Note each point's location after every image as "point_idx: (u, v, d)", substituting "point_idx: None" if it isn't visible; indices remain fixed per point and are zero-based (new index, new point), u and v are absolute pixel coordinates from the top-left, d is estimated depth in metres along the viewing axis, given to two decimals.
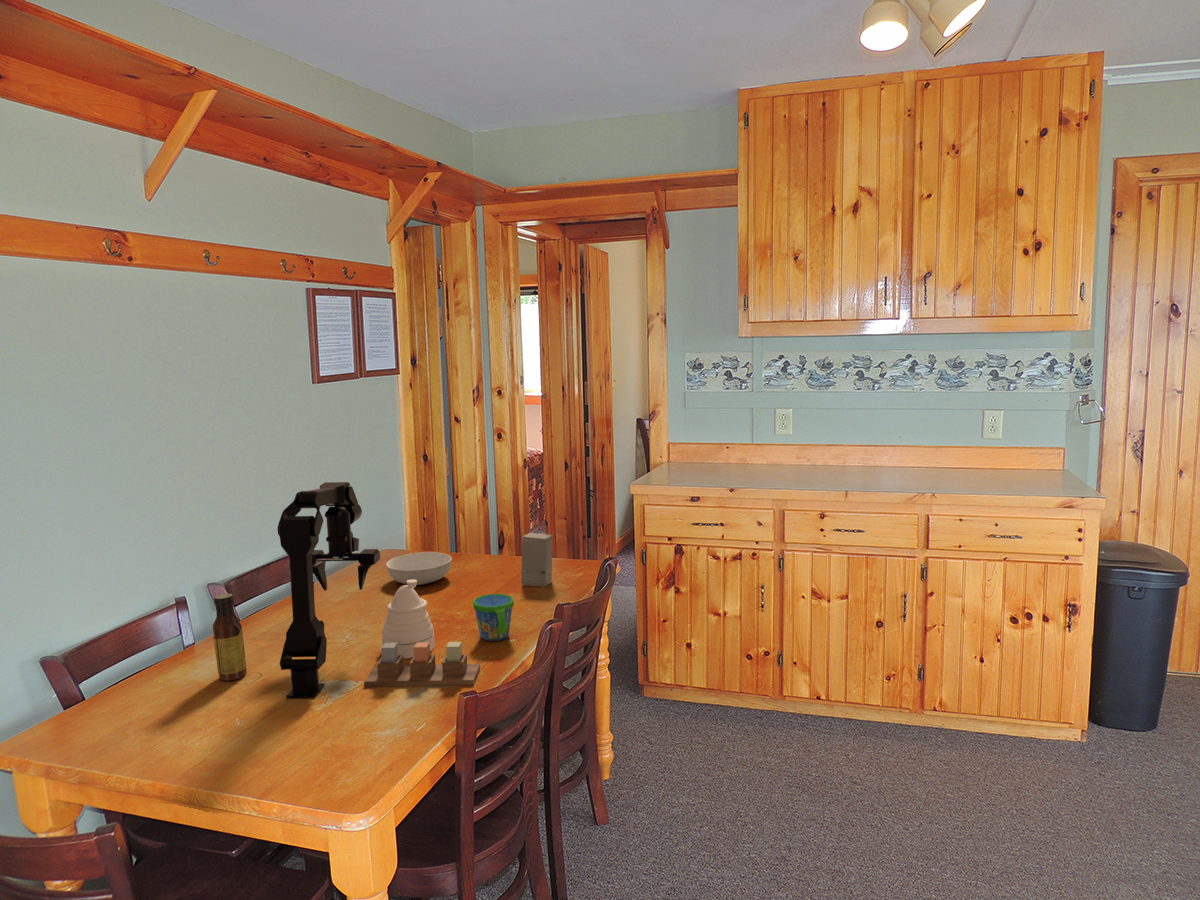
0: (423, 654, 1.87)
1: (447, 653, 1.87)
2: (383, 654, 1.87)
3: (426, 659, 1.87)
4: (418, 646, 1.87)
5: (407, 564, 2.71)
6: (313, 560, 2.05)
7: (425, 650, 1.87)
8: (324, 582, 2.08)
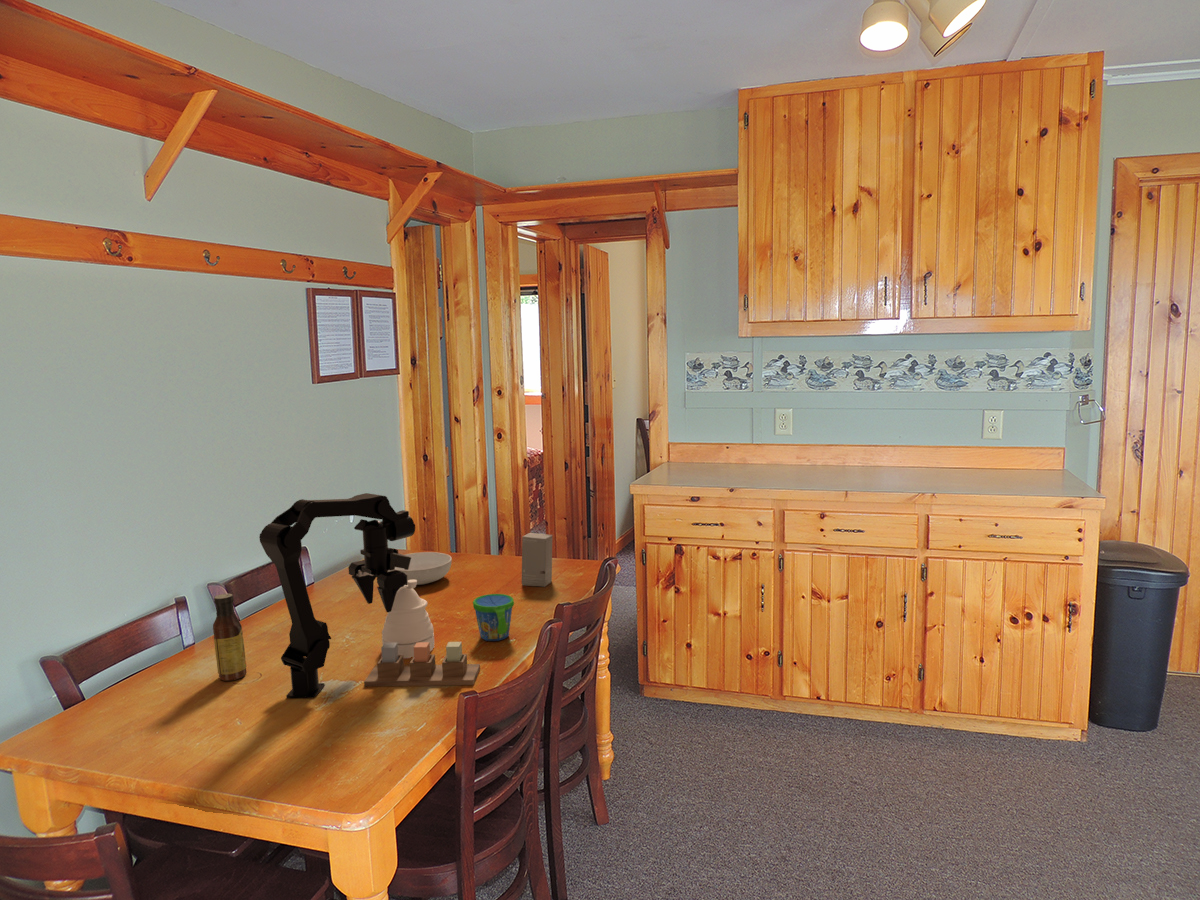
0: (423, 654, 1.87)
1: (447, 653, 1.87)
2: (383, 654, 1.87)
3: (426, 659, 1.87)
4: (418, 646, 1.87)
5: None
6: (353, 570, 1.99)
7: (425, 650, 1.87)
8: (367, 595, 2.01)
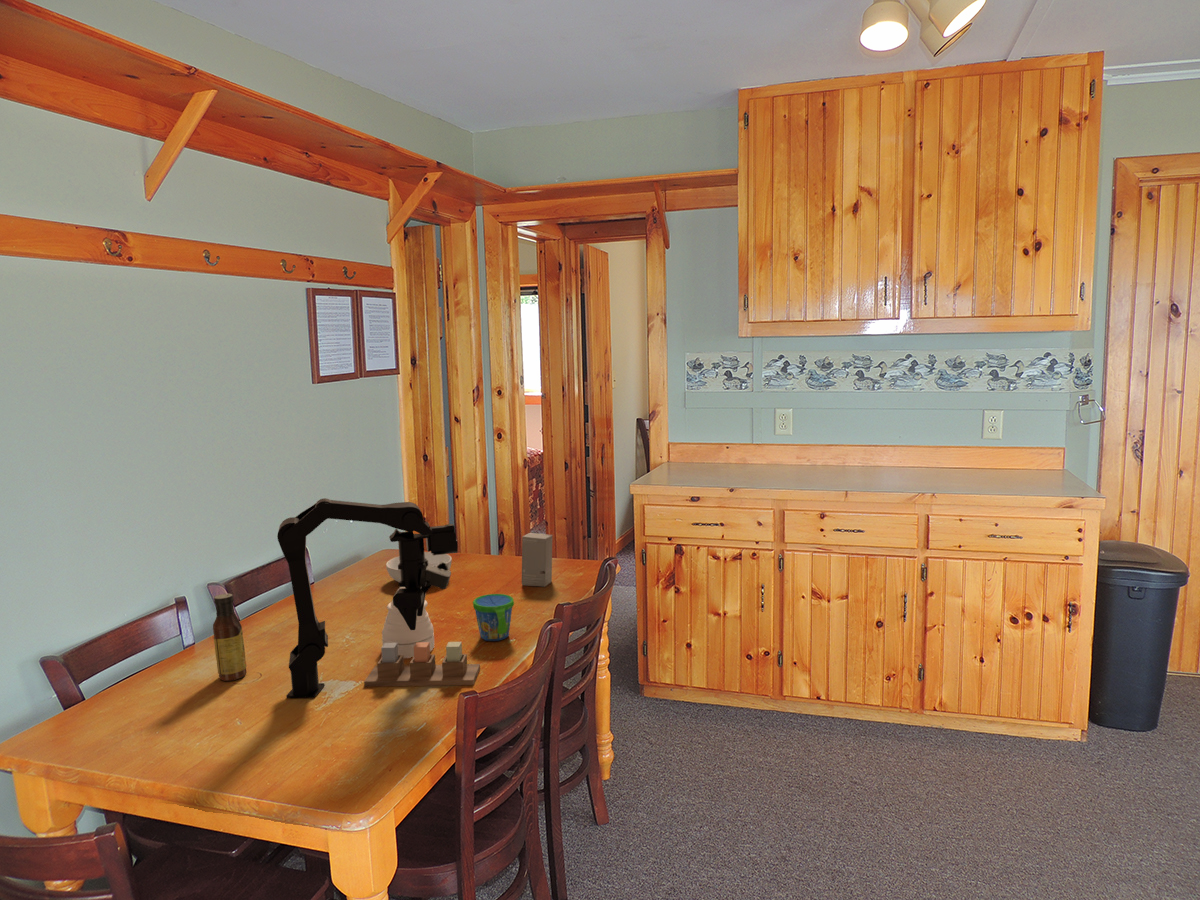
0: (423, 654, 1.87)
1: (447, 653, 1.87)
2: (383, 654, 1.87)
3: (426, 659, 1.87)
4: (418, 646, 1.87)
5: None
6: None
7: (425, 650, 1.87)
8: None
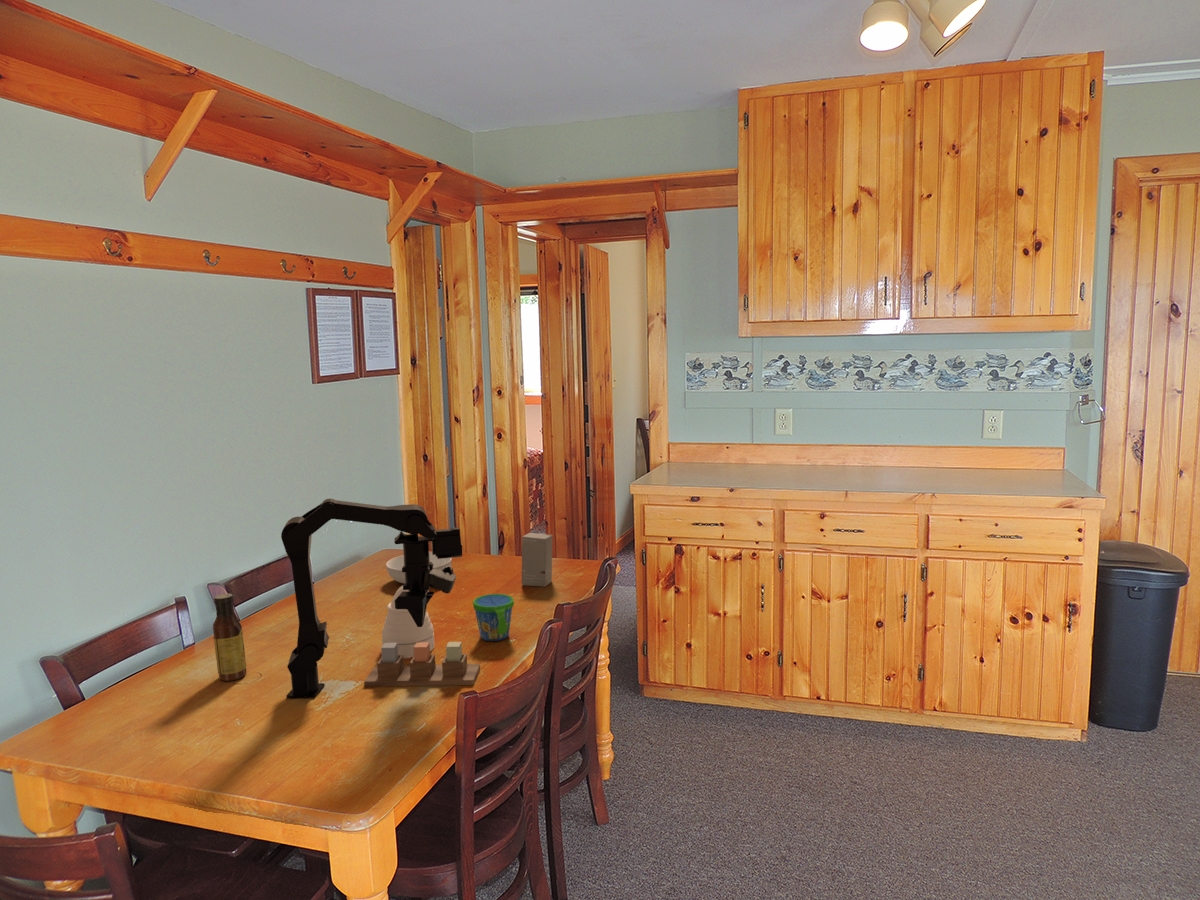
0: (423, 654, 1.87)
1: (447, 653, 1.87)
2: (383, 654, 1.87)
3: (426, 659, 1.87)
4: (418, 646, 1.87)
5: None
6: None
7: (425, 650, 1.87)
8: None
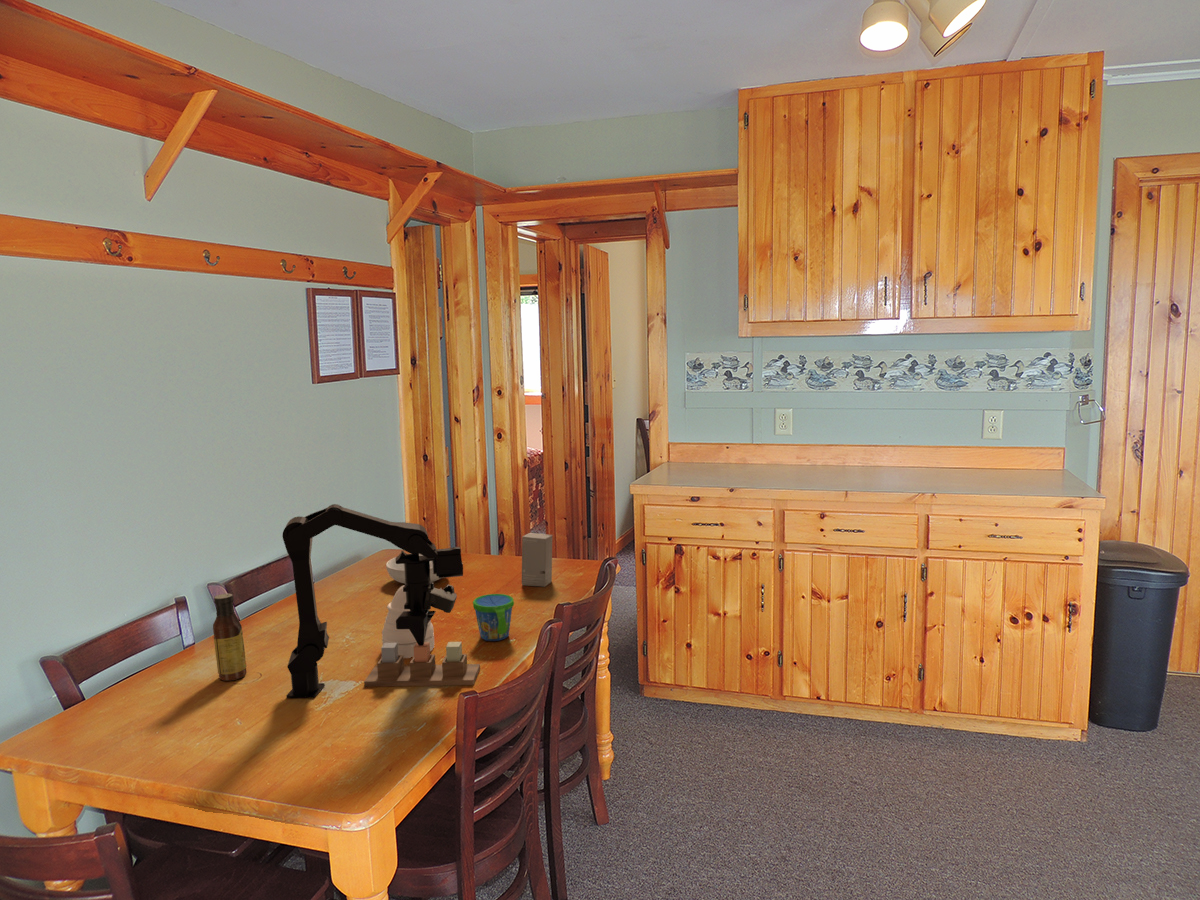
0: (423, 654, 1.87)
1: (447, 653, 1.87)
2: (383, 654, 1.87)
3: (426, 659, 1.87)
4: (418, 646, 1.87)
5: None
6: None
7: (425, 650, 1.87)
8: None
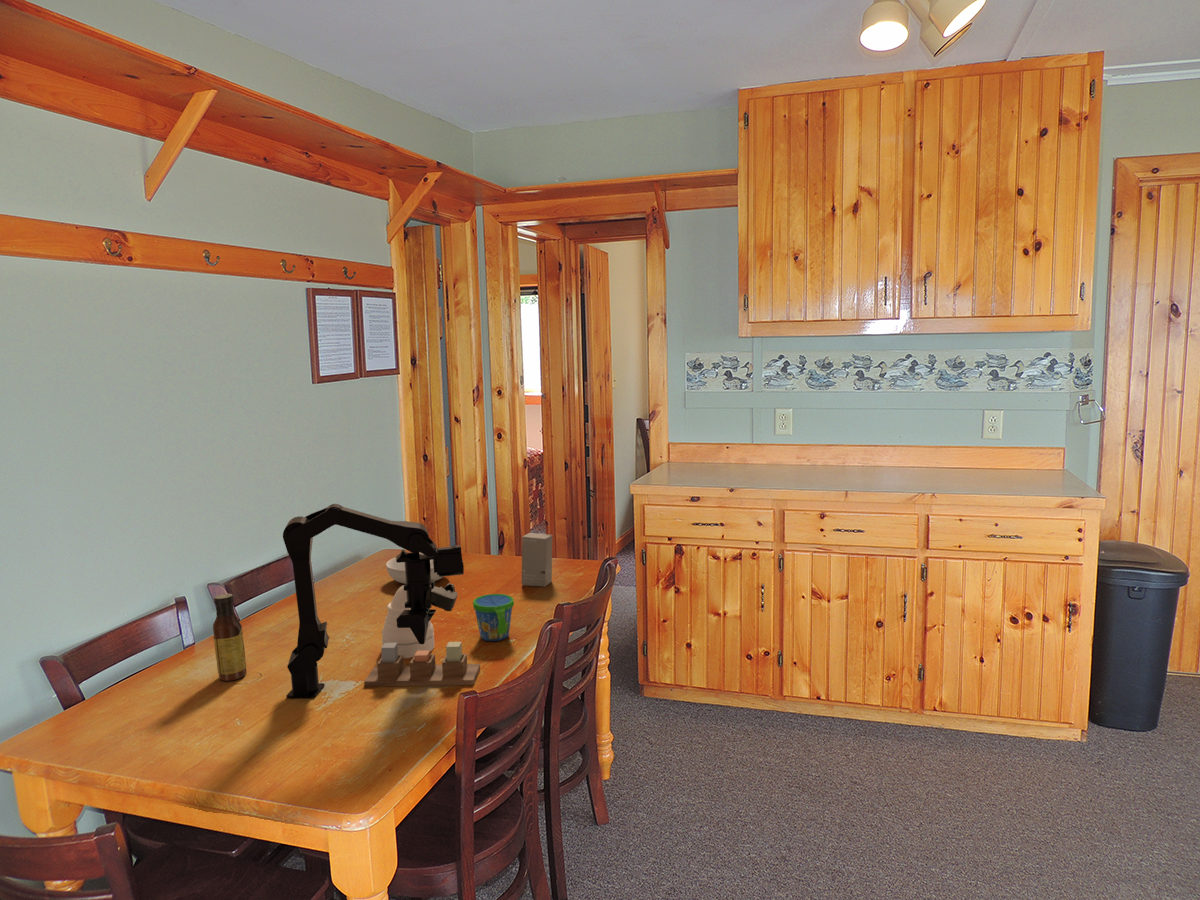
0: None
1: (447, 653, 1.87)
2: (383, 654, 1.87)
3: None
4: (418, 654, 1.87)
5: None
6: None
7: (425, 658, 1.87)
8: None
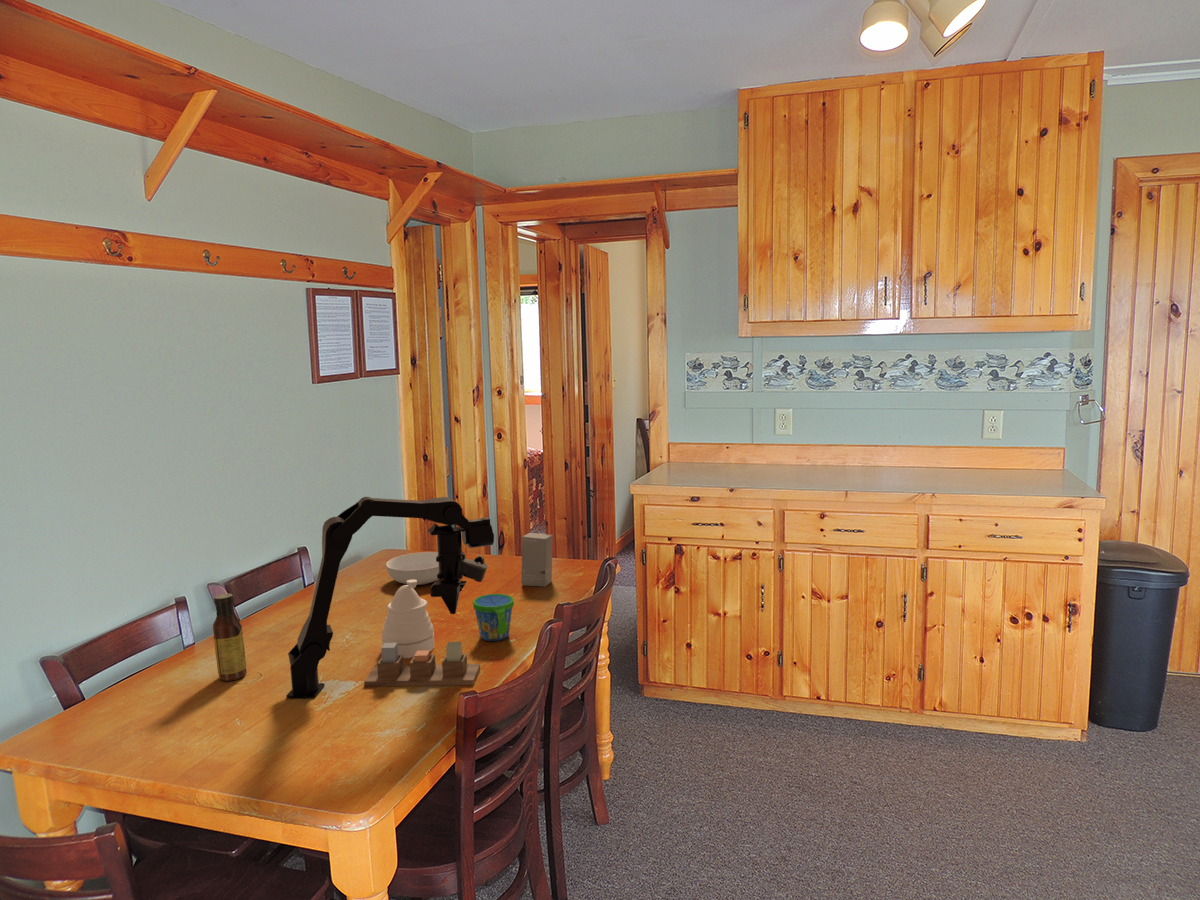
0: None
1: (447, 653, 1.87)
2: (383, 654, 1.87)
3: None
4: (418, 654, 1.87)
5: (407, 564, 2.71)
6: None
7: (425, 658, 1.87)
8: None
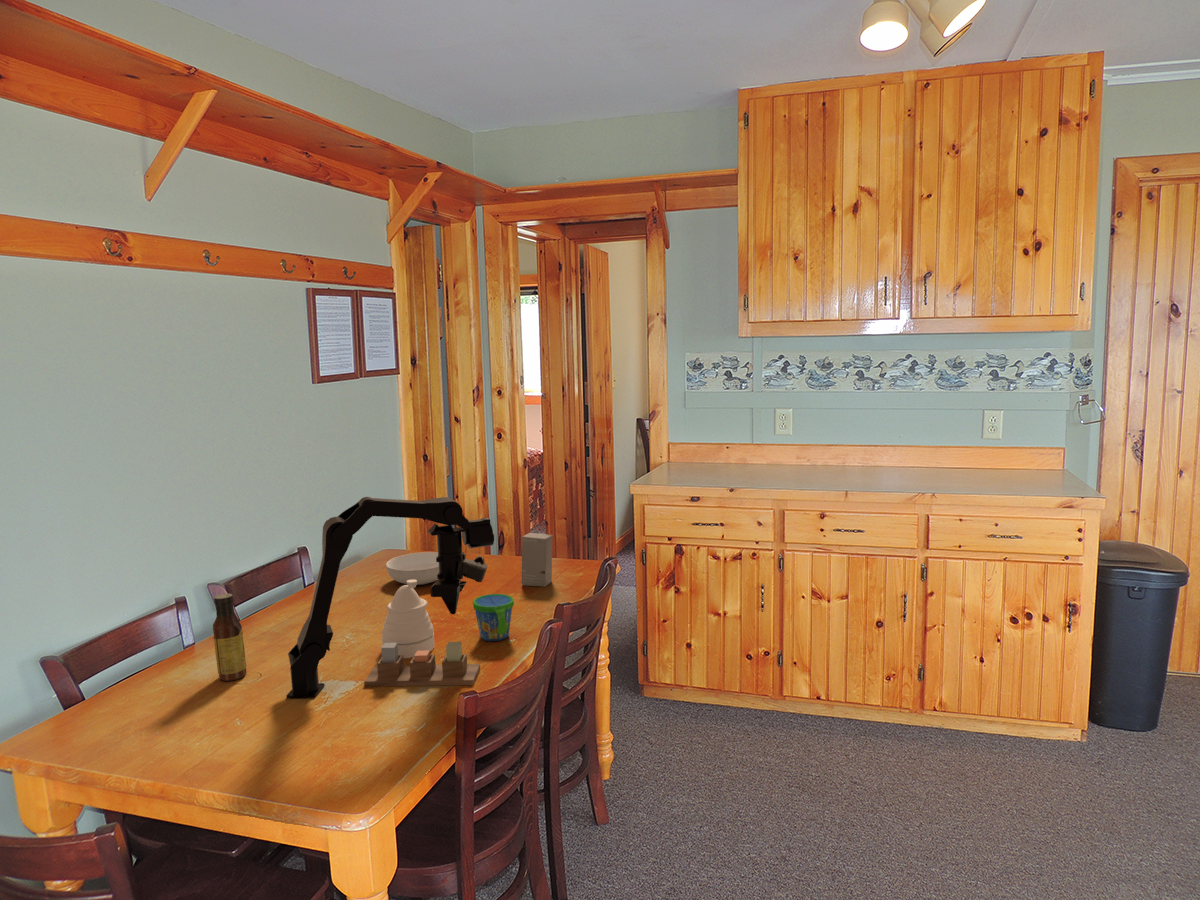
0: None
1: (447, 653, 1.87)
2: (383, 654, 1.87)
3: None
4: (418, 654, 1.87)
5: (407, 564, 2.71)
6: None
7: (425, 658, 1.87)
8: None
